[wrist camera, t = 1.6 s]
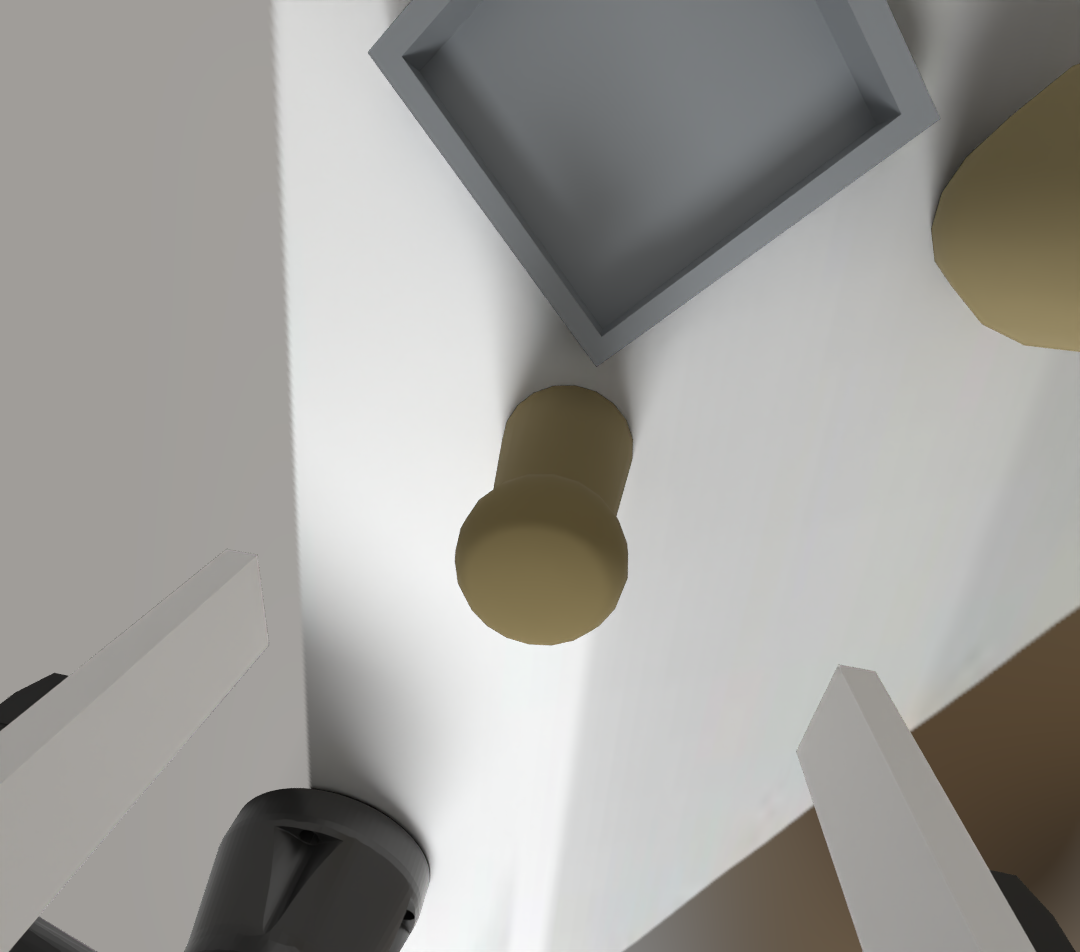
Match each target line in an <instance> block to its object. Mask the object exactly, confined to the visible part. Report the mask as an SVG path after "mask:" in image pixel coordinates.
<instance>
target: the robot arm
mask: <svg viewBox="0 0 1080 952" xmlns="http://www.w3.org/2000/svg"><path fill="white" fill-rule="evenodd" d="M268 646H269V640H268V631H267V624H266V616H265V608H264V602H263V593H262V585H261V578H260V570H259V562H258V555H256V554H251V553H246V552H240V551H235V550H229V549H226V550H225V551H223V552H222V553H221V554H220V555H218V556H217V557H216V558H215V559H213V560H212V561H211V562H210V563H208V564H207V565H206V566H205V567H203V568H202V569H201V570H200V571H198V572H197V573H196V574H195V575H193V576H192V577H191V578H190V579H189V580H187V581H186V582H185V583H184V584H182V585H181V586H180V587H179V588H177V589H176V590H175V591H174V592H172V593H171V594H170V595H169V596H167V597H166V598H165V599H164V600H163V601H161V602H160V603H159V604H157V605H156V606H155V607H154V608H153V609H151V610H150V611H149V612H148V613H147V614H145V615H144V616H143V617H141V619H139V620H138V621H137V622H135V623H134V624H133V625H132V626H130V627H129V628H128V629H126V630H125V631H124V632H123V633H122V634H120V635H119V636H118V637H117V638H115V639H114V640H113V641H112V642H110V643H109V644H108V645H107V646H105V647H104V648H103V649H102V650H101V651H99V652H98V653H97V654H95V655H94V656H93V657H92V658H91V659H89V660H88V661H87V662H86V663H84V664H83V665H82V666H81V667H79V668H78V669H77V670H76V671H74V672H73V673H72V674H71V675H69V676H66V675H61V674H57V673H53V674H51V675H49V676H47V677H45V678H43V679H41V680H40V681H37V682H35V683H33V684H31V685H29V686H28V687H25V688H23V689H21V690H20V691H17V692H16V693H14V694H13V695H12V696H10V697H9V698H8V699H6V700H5V701H4V702H2V703H1V704H0V952H97V951H95V950H94V949H92V948H90V947H89V946H87V945H85V944H84V943H82V942H80V941H79V940H77V939H75V938H74V937H72V936H70V935H68V934H67V933H65V932H64V931H62V930H60V929H59V928H57V927H56V926H54V925H52V924H51V923H49V922H47V921H45V920H44V919H42V918H41V917H39V915H40V914H41V913H42V912H43V911H44V909H45V908H46V907H47V905H49V903H50V902H51V901H52V900H53V899H54V898H55V896H56V895H57V894H58V893H59V892H60V891H61V889H62V888H63V887H64V886H65V885H66V884H67V882H68V881H69V880H70V879H71V878H72V877H73V875H74V874H75V873H76V872H77V871H78V869H79V868H80V867H81V866H82V865H83V864H84V862H85V861H86V860H87V859H88V858H89V856H90V855H91V854H92V853H93V852H94V851H95V849H96V848H97V847H98V846H99V845H100V844H101V842H102V841H103V840H104V839H105V838H106V837H107V835H108V834H109V833H110V832H111V831H112V829H113V828H114V827H115V826H116V825H117V824H118V822H119V821H120V820H121V819H122V818H123V817H124V815H125V814H126V813H127V812H128V811H129V809H130V808H131V807H132V806H133V805H134V804H135V802H136V801H137V800H138V799H139V798H140V797H141V795H142V794H143V793H144V792H145V791H146V789H147V788H148V787H149V786H150V785H151V784H152V782H153V781H154V780H155V779H156V778H157V777H158V775H159V774H160V773H161V772H162V771H163V769H164V768H165V767H166V766H167V765H168V764H169V762H170V761H171V760H172V759H173V758H174V757H175V755H176V754H177V753H178V752H179V751H180V750H181V748H182V747H183V746H184V745H185V743H186V742H187V741H188V740H189V739H190V738H191V737H192V735H193V734H194V733H195V732H196V731H197V730H198V728H199V727H200V726H201V725H202V723H203V722H204V721H205V720H206V719H207V718H208V717H209V715H210V714H211V713H212V712H213V711H214V709H215V708H216V707H217V706H218V705H219V703H220V702H221V701H222V700H223V699H224V698H225V697H226V695H227V694H228V693H229V692H230V691H231V689H232V688H233V687H234V686H235V685H236V684H237V682H238V681H239V680H240V679H241V678H242V676H243V675H244V674H245V673H246V672H247V671H248V669H249V668H250V667H251V666H252V665H253V664H254V662H255V661H256V660H257V659H258V658H259V657H260V655H261V654H262V653H263V652H264V651H265V649H266V648H267V647H268ZM796 752H797V755H798V758H799V761H800V764H801V767H802V770H803V773H804V776H805V779H806V782H807V785H808V788H809V791H810V794H811V797H812V800H813V803H814V806H815V809H816V812H817V815H818V818H819V821H820V824H821V827H822V830H823V833H824V836H825V839H826V842H827V845H828V848H829V851H830V854H831V857H832V860H833V863H834V866H835V869H836V872H837V875H838V878H839V881H840V884H841V887H842V890H843V893H844V896H845V899H846V902H847V905H848V908H849V911H850V914H851V917H852V920H853V923H854V926H855V929H856V932H857V935H858V938H859V941H860V944H861V947H862V950H863V952H1076V951H1075V950H1074V948H1073V947H1072V945H1071V943H1070V942H1069V940H1068V939H1067V937H1066V935H1065V934H1064V932H1063V931H1062V929H1061V928H1060V926H1059V924H1058V923H1057V921H1056V920H1055V918H1054V916H1053V915H1052V914H1051V913H1050V912H1049V911H1048V910H1047V909H1046V908H1045V906H1044V905H1043V904H1042V903H1041V902H1040V901H1039V900H1038V899H1037V898H1036V897H1035V896H1034V895H1033V893H1032V892H1031V891H1030V890H1029V889H1028V888H1027V887H1026V886H1025V885H1024V884H1023V883H1022V881H1021V880H1020V879H1019V878H1018V877H1017V876H1016V875H1011V874H1006V873H1002V872H997V871H991V870H989V869H988V867H987V865H986V864H985V862H984V860H983V858H982V857H981V855H980V853H979V851H978V850H977V848H976V846H975V844H974V843H973V841H972V839H971V837H970V836H969V834H968V832H967V831H966V829H965V827H964V825H963V824H962V822H961V820H960V818H959V817H958V815H957V813H956V811H955V809H954V808H953V806H952V804H951V803H950V801H949V799H948V797H947V796H946V794H945V792H944V790H943V789H942V787H941V785H940V783H939V782H938V780H937V778H936V776H935V775H934V773H933V771H932V769H931V768H930V766H929V764H928V762H927V761H926V759H925V757H924V755H923V754H922V752H921V751H920V748H919V747H918V745H917V743H916V741H915V740H914V738H913V736H912V734H911V733H910V731H909V729H908V727H907V726H906V724H905V722H904V721H903V719H902V717H901V715H900V714H899V712H898V710H897V708H896V707H895V705H894V703H893V701H892V700H891V698H890V696H889V694H888V693H887V691H886V689H885V687H884V686H883V684H882V682H881V680H880V679H879V677H878V675H877V673H876V672H875V671H870V670H865V669H860V668H854V667H849V666H844V665H839V664H838V666H837V668H836V670H835V673H834V675H833V677H832V679H831V681H830V683H829V685H828V687H827V689H826V691H825V693H824V695H823V697H822V699H821V701H820V703H819V705H818V708H817V710H816V712H815V714H814V716H813V718H812V720H811V722H810V724H809V726H808V728H807V730H806V732H805V734H804V736H803V738H802V741H801V743H800V745H799V747H798V749H797V751H796ZM429 878H430V874H429V867H428V864H427V861H426V858H425V856H424V854H423V852H422V851H421V849H420V847H419V846H418V845H417V843H416V842H415V841H414V839H413V838H412V837H411V836H410V835H409V834H408V833H407V832H406V831H405V830H404V829H403V828H402V827H400V826H399V825H398V824H397V823H396V822H394V821H393V820H391V819H390V818H389V817H387V816H386V815H384V814H382V813H381V812H379V811H377V810H376V809H374V808H372V807H370V806H368V805H366V804H364V803H361V802H359V801H357V800H354V799H351V798H349V797H346V796H342V795H339V794H335V793H332V792H327V791H322V790H316V789H305V788H289V789H279V790H275V791H270V792H267V793H264V794H262V795H259V796H257V797H255V798H254V799H252V800H251V801H249V802H248V803H247V804H246V805H245V806H244V807H243V808H242V810H241V811H240V813H239V815H238V816H237V818H236V819H235V821H234V822H233V824H232V825H231V827H230V828H229V830H228V831H227V833H226V835H225V836H224V838H223V840H222V842H221V844H220V846H219V849H218V852H217V855H216V858H215V862H214V864H213V867H212V870H211V874H210V876H209V880H208V883H207V886H206V889H205V892H204V895H203V898H202V901H201V905H200V907H199V911H198V914H197V917H196V920H195V923H194V926H193V930H192V932H191V935H190V938H189V941H188V944H187V946H186V948H185V950H184V952H400V950H401V948H402V947H403V945H404V943H405V942H406V940H407V938H408V936H409V935H410V933H411V932H412V930H413V928H414V926H415V925H416V923H417V920H418V918H419V916H420V912H421V909H422V906H423V902H424V899H425V895H426V892H427V888H428V885H429Z"/></svg>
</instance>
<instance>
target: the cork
mask: <svg viewBox="0 0 1080 952" xmlns="http://www.w3.org/2000/svg"><path fill="white" fill-rule="evenodd" d="M632 450H633V439H632V436H631V433H630V430H629V427H628V424H627V421H626V419H625V418H624V417H623V415H622V414H621V413H620V411H619V410H618V409H617V407H616V406H615V405H614V404H613V403H612V402H610V401H609V400H607V399H606V398H605V397H603V396H602V395H600V394H599V393H597V392H595V391H592V390H589V389H585V388H582V387H579V386H552V387H549V388H546V389H543V390H541V391H538V392H535V393H533V394H532V395H530V396H529V397H528V398H526V399H525V400H524V401H523V402H521V403H520V404H519V405H517V407H516V409H515V410H514V412H513V413H512V415H511V416H510V418H509V419H508V421H507V423H506V427H505V431H504V435H503V439H502V444H501V450H500V455H499V461H498V466H497V472H496V478H495V483H494V489H493V490H492V491H491V492H489V493H488V494H487V495H485V496H484V497H482V498H481V499H480V500H479V501H478V502H477V504H476V505H475V507H474V508H473V509H472V511H471V512H470V514H469V515H468V517H467V518H466V520H465V522H464V523H463V525H462V527H461V529H460V534H459V538H458V542H457V547H456V552H455V565H456V573H457V580H458V584H459V586H460V588H461V590H462V592H463V594H464V596H465V598H466V600H467V602H468V604H469V606H470V607H471V609H472V611H473V612H474V613H475V614H476V615H477V616H478V617H479V618H480V619H481V620H482V621H483V622H484V623H485V624H486V625H487V626H488V627H490V628H491V629H493V630H495V631H496V632H498V633H500V634H501V635H503V636H505V637H506V638H510V639H513V640H516V641H520V642H523V643H526V644H535V645H555V644H560V643H565V642H569V641H574V640H575V639H577V638H579V637H581V636H583V635H585V634H586V633H588V632H590V631H592V630H593V629H595V628H596V627H598V626H599V625H600V624H601V623H602V622H603V621H604V620H605V619H606V618H607V617H608V616H609V615H610V614H611V613H612V611H613V610H614V609H615V607H616V605H617V603H618V600H619V598H620V595H621V593H622V590H623V588H624V586H625V583H626V581H627V578H628V549H627V542H626V539H625V537H624V534H623V531H622V528H621V526H620V523H619V521H618V519H617V517H616V516H617V512H618V509H619V505H620V501H621V498H622V494H623V491H624V487H625V483H626V480H627V476H628V473H629V469H630V466H631V462H632Z"/></svg>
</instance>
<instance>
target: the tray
mask: <svg viewBox="0 0 1080 952" xmlns="http://www.w3.org/2000/svg"><path fill="white" fill-rule="evenodd" d="M368 54H369V55H370V56H371V58H372V59H373V61H374V62H375V63H376V65H377V66H378V67H379V69H380V70H381V72H382V73H383V74H384V76H385V77H386V78H387V80H388V81H389V83H390V84H391V85H392V87H393V88H394V89H395V91H396V92H397V94H398V95H399V96H400V98H401V99H402V100H403V102H404V103H405V105H406V106H407V107H408V109H409V110H410V111H411V113H412V114H413V116H414V117H415V118H416V120H417V121H418V122H419V124H420V125H421V127H422V128H423V129H424V131H425V132H426V133H427V135H428V136H429V138H430V139H431V140H432V142H433V143H434V144H435V146H436V147H437V149H438V150H439V151H440V153H441V154H442V155H443V157H444V158H445V160H446V161H447V162H448V164H449V165H450V166H451V168H452V169H453V171H454V172H455V173H456V175H457V176H458V177H459V179H460V180H461V182H462V183H463V184H464V186H465V187H466V188H467V190H468V191H469V193H470V194H471V195H472V197H473V198H474V199H475V201H476V202H477V204H478V205H479V206H480V208H481V209H482V210H483V212H484V213H485V215H486V216H487V217H488V219H489V220H490V221H491V223H492V224H493V226H494V227H495V228H496V230H497V231H498V232H499V234H500V235H501V236H502V238H503V239H504V241H505V242H506V243H507V245H508V246H509V247H510V249H511V250H512V252H513V253H514V254H515V256H516V257H517V258H518V260H519V261H520V263H521V264H522V265H523V267H524V268H525V269H526V271H527V272H528V274H529V275H530V276H531V278H532V279H533V280H534V282H535V283H536V285H537V286H538V287H539V289H540V290H541V291H542V293H543V294H544V296H545V297H546V298H547V300H548V301H549V302H550V304H551V305H552V307H553V308H554V309H555V311H556V312H557V313H558V315H559V316H560V318H561V319H562V320H563V322H564V323H565V324H566V326H567V327H568V329H569V330H570V331H571V333H572V334H573V335H574V337H575V338H576V340H577V341H578V342H579V344H580V345H581V346H582V348H583V349H584V351H585V352H586V353H587V355H588V356H589V357H590V359H591V360H592V362H593V363H594V364H595V366H596V367H597V366H599V365H600V364H601V363H603V362H604V361H605V360H607V359H608V358H610V357H611V356H612V355H614V354H615V353H617V352H618V351H619V350H621V349H622V348H623V347H625V346H626V345H628V344H629V343H630V342H632V341H633V340H635V339H636V338H637V337H639V336H640V335H642V334H643V333H644V332H646V331H647V330H648V329H650V328H651V327H653V326H654V325H655V324H657V323H658V322H660V321H661V320H662V319H664V318H665V317H666V316H668V315H669V314H671V313H672V312H673V311H675V310H676V309H678V308H679V307H680V306H682V305H683V304H684V303H686V302H687V301H689V300H690V299H691V298H693V297H694V296H696V295H697V294H698V293H700V292H701V291H702V290H704V289H705V288H707V287H708V286H709V285H711V284H712V283H714V282H715V281H716V280H718V279H719V278H720V277H722V276H723V275H725V274H726V273H727V272H729V271H730V270H732V269H733V268H734V267H736V266H737V265H738V264H740V263H741V262H743V261H744V260H745V259H747V258H748V257H750V256H751V255H752V254H754V253H755V252H757V251H758V250H759V249H761V248H762V247H763V246H765V245H766V244H768V243H769V242H770V241H772V240H773V239H775V238H776V237H777V236H779V235H780V234H781V233H783V232H784V231H786V230H787V229H788V228H790V227H791V226H793V225H794V224H795V223H797V222H798V221H799V220H801V219H802V218H804V217H805V216H806V215H808V214H809V213H811V212H812V211H813V210H815V209H816V208H817V207H819V206H820V205H822V204H823V203H824V202H826V201H827V200H829V199H830V198H831V197H833V196H834V195H835V194H837V193H838V192H840V191H841V190H842V189H844V188H845V187H847V186H848V185H849V184H851V183H852V182H854V181H855V180H856V179H858V178H859V177H860V176H862V175H863V174H865V173H866V172H867V171H869V170H870V169H872V168H873V167H874V166H876V165H877V164H878V163H880V162H881V161H883V160H884V159H885V158H887V157H888V156H890V155H891V154H892V153H894V152H895V151H896V150H898V149H899V148H901V147H902V146H903V145H905V144H906V143H908V142H909V141H910V140H912V139H913V138H914V137H916V136H917V135H919V134H920V133H921V132H923V131H924V130H926V129H927V128H928V127H930V126H931V125H932V124H934V123H935V122H937V121H938V120H939V119H940V116H939V114H938V112H937V110H936V108H935V105H934V103H933V101H932V99H931V97H930V95H929V92H928V90H927V88H926V86H925V84H924V82H923V79H922V77H921V75H920V73H919V71H918V68H917V66H916V64H915V62H914V60H913V58H912V55H911V53H910V51H909V49H908V47H907V44H906V42H905V40H904V38H903V36H902V34H901V31H900V29H899V27H898V25H897V23H896V21H895V18H894V16H893V14H892V12H891V10H890V7H889V5H888V3H887V1H886V0H412V1H411V2H410V3H409V4H408V5H407V6H406V8H405V9H404V10H403V11H402V12H401V14H400V15H399V16H398V17H397V18H396V19H395V21H394V22H393V23H392V24H391V25H390V27H389V28H388V29H387V30H386V31H385V32H384V34H383V35H382V36H381V37H380V38H379V40H378V41H377V42H376V43H375V44H374V45H373V47H372V48H371V49H370V50H369V51H368Z"/></svg>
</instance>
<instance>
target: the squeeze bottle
mask: <svg viewBox="0 0 1080 952" xmlns="http://www.w3.org/2000/svg"><path fill="white" fill-rule="evenodd" d="M931 232H932V241H933V250H934V259H935V262H936V264H937V265H938V267H939V268H940V270H941V271H942V273H943V274H944V276H945V277H946V279H947V280H948V282H949V283H950V285H951V286H952V287H953V288H954V290H955V291H956V292H957V293H958V295H959V296H960V297H961V298H962V300H963V301H964V302H965V303H966V305H967V306H968V307H969V308H970V310H971V311H972V312H973V313H974V315H975V316H976V317H977V318H978V320H979V321H980V322H981V323H982V324H983V325H985V326H987V327H989V328H991V329H993V330H995V331H997V332H999V333H1001V334H1003V335H1005V336H1007V337H1009V338H1011V339H1013V340H1015V341H1017V342H1019V343H1021V344H1023V345H1026V346H1035V347H1043V348H1052V349H1060V350H1069V351H1078V352H1080V63H1079V64H1077V65H1074V66H1072V67H1071V68H1070V69H1068V70H1067V71H1066V72H1065V73H1064V74H1062V75H1061V76H1060V77H1059V78H1057V79H1056V80H1055V81H1054V82H1052V83H1051V84H1050V85H1049V86H1048V87H1046V88H1045V89H1044V90H1043V91H1041V92H1040V93H1039V94H1038V95H1036V96H1035V97H1034V98H1033V99H1031V100H1030V101H1029V102H1028V103H1027V104H1025V105H1024V106H1023V107H1022V108H1020V109H1019V110H1018V111H1017V112H1015V113H1014V114H1013V115H1012V116H1011V117H1010V118H1008V119H1007V120H1006V121H1005V122H1004V123H1003V124H1002V125H1001V126H1000V127H999V128H998V129H997V130H995V131H994V132H993V133H992V134H991V135H990V136H989V137H988V138H987V139H986V140H985V141H984V142H982V143H981V144H980V145H979V146H978V147H977V148H976V149H975V150H974V151H973V152H972V153H970V154H969V155H968V156H967V157H966V158H965V160H964V161H963V163H962V164H961V166H960V167H959V169H958V170H957V171H956V173H955V174H954V176H953V177H952V179H951V180H950V182H949V183H948V185H947V186H946V187H945V189H944V190H943V192H942V194H941V197H940V201H939V204H938V208H937V211H936V214H935V218H934V221H933V225H932V228H931Z"/></svg>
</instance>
